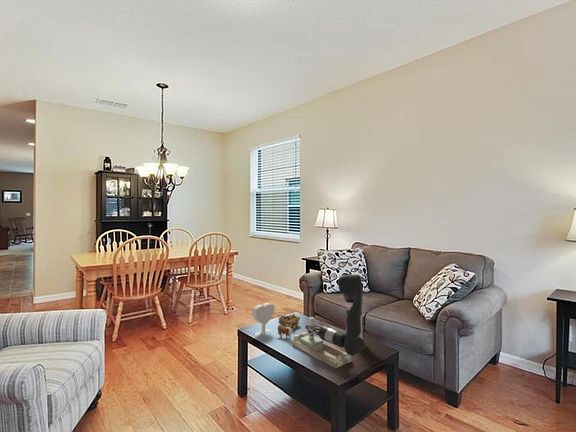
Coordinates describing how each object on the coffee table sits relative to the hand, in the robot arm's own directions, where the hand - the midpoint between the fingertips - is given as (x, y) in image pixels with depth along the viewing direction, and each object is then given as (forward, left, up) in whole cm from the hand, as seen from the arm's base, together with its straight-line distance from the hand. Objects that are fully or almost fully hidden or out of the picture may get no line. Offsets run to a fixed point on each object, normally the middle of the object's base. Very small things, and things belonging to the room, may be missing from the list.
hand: (308, 325), depth 183 cm
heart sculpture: (+7, -35, -13) cm, 38 cm away
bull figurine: (+2, -18, -13) cm, 23 cm away
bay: (0, +10, -13) cm, 16 cm away
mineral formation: (-14, -32, -13) cm, 37 cm away
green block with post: (0, +3, -12) cm, 12 cm away
